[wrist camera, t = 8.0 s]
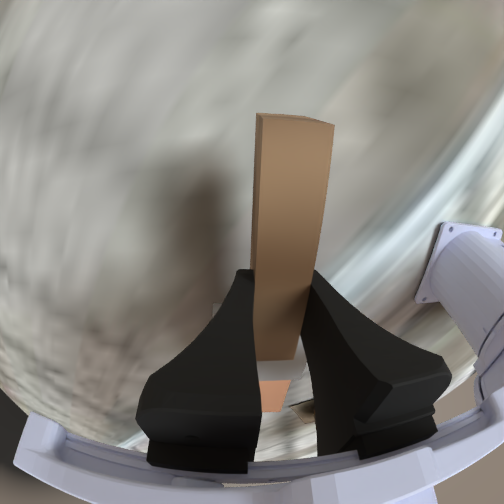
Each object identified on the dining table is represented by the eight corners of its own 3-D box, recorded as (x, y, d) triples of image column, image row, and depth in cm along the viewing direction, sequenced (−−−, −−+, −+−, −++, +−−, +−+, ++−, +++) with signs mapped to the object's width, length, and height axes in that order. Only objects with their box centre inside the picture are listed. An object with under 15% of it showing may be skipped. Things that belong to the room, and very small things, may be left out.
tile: (292, 376, 25) (280, 411, 29) (290, 366, 26) (279, 402, 30) (220, 375, 24) (221, 411, 28) (220, 365, 26) (222, 402, 29)
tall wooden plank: (207, 112, 10) (188, 118, 7) (349, 122, 10) (394, 135, 7) (219, 371, 19) (216, 418, 15) (299, 370, 19) (307, 416, 16)
